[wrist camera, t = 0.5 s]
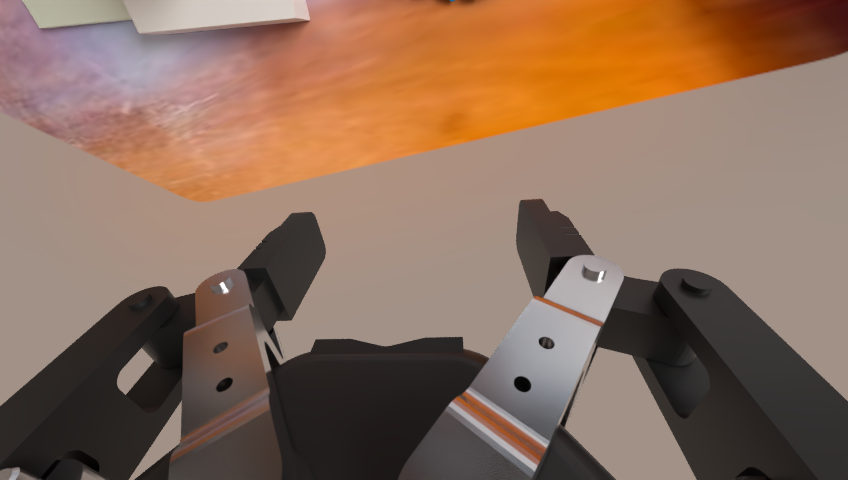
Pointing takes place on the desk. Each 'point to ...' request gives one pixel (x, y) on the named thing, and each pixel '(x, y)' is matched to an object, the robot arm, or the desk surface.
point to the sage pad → (76, 12)
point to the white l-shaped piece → (211, 14)
